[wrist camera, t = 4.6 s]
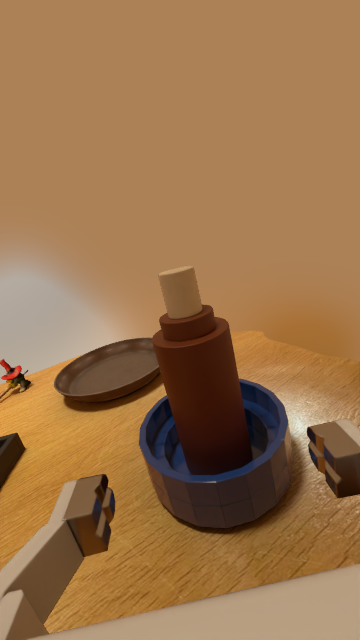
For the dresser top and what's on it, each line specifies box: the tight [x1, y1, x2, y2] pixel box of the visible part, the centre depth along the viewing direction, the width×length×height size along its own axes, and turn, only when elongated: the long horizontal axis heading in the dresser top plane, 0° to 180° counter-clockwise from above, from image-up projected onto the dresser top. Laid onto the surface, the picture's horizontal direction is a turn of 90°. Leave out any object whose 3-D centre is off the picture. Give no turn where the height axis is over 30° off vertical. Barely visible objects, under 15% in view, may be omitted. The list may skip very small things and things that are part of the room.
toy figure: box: [0, 359, 31, 398], centre depth 50 cm, size 10×4×7 cm
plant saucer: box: [54, 338, 160, 402], centre depth 47 cm, size 21×21×3 cm
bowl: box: [139, 379, 293, 528], centre depth 24 cm, size 13×13×5 cm
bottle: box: [152, 266, 252, 475], centre depth 22 cm, size 6×6×18 cm
